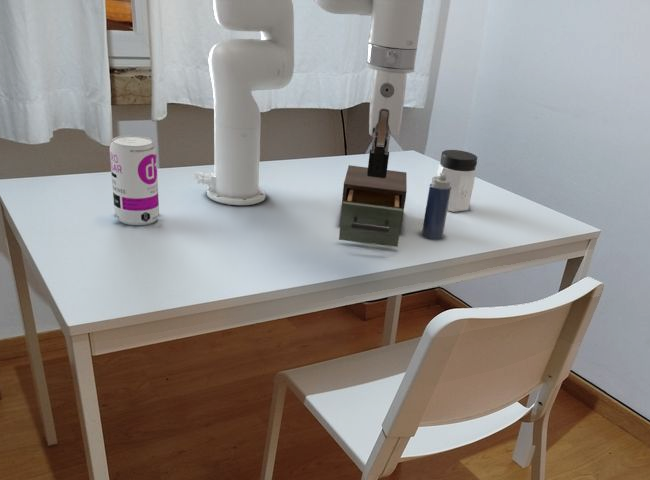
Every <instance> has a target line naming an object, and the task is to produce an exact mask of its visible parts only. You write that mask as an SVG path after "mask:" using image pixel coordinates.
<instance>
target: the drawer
mask: <svg viewBox="0 0 650 480" xmlns="http://www.w3.org/2000/svg"><path fill="white" fill-rule="evenodd" d="M341 206H342V214H341V213H340V216H341V224H340V223H339V226H340V227H339V235H338V240H339V241H347V242H353V243H354V242H356V243H361V244H362V243H363V244H372V245H379V246H385V247H394V248H395V247H396V248H398V246H399V240H400V234H401V232H400V226H401V220H402V221H403V219H402V213H403V214H404V212H403V209H400V208H399V194H391V193H383V192H375V191H367V190H359V189H351V188H350V191H349V195H348V199H347V202H344V201H343V204H342V203H341ZM401 227H402V226H401ZM399 233H400V234H399Z"/></svg>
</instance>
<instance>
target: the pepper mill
mask: <svg viewBox="0 0 650 480" xmlns="http://www.w3.org/2000/svg"><path fill="white" fill-rule="evenodd" d="M451 189H452V188H451V180H450V179H449V178H446V174H445V173H440V174H439V176H437V175H436V176H433V177H432V178H431V183H430V184H429V187H428V193H427V199H426V206H425V212H424V217H423V222H422V229H421V236H422V237H424V238H425V239H428V240H442V239H443V236H444V232H445V226H446V221H447V216H448V212H449V211H448V205H449V200H450V194H451Z"/></svg>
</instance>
